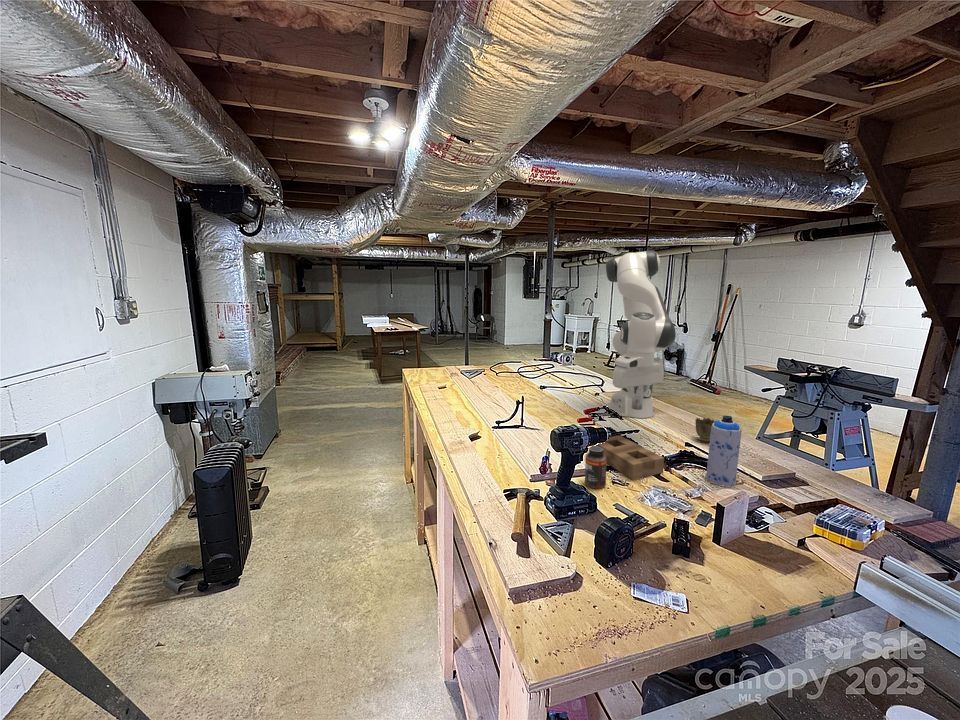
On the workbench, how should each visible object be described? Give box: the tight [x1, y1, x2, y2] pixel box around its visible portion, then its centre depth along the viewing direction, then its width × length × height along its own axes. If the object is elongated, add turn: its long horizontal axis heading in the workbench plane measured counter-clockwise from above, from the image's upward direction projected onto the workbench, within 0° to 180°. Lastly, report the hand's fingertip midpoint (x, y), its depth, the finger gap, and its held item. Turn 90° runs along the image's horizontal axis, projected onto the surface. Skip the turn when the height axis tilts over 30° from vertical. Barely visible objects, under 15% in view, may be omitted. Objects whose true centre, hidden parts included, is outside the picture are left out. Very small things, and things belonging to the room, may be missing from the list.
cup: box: [695, 417, 717, 443], centre depth 142 cm, size 8×7×8 cm
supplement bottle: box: [584, 445, 607, 490], centre depth 111 cm, size 6×6×11 cm
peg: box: [631, 385, 644, 410], centre depth 136 cm, size 4×4×9 cm
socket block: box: [596, 435, 665, 481], centre depth 125 cm, size 20×12×5 cm, turn 21°
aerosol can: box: [705, 415, 743, 487], centre depth 112 cm, size 8×8×20 cm
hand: (637, 397), depth 136 cm, fingers closed on peg, 4 cm apart
